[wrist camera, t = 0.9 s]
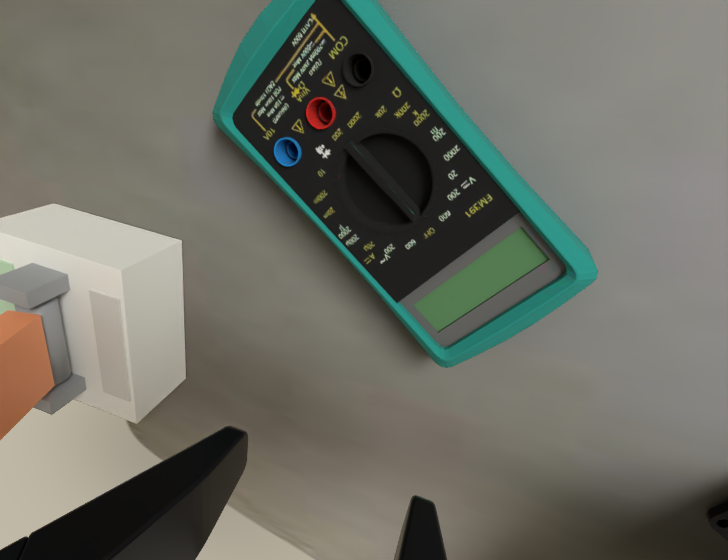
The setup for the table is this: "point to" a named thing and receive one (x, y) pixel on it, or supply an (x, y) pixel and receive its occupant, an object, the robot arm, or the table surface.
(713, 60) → the table surface
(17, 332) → the lever
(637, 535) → the table surface
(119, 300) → the switch base
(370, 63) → the digital multimeter
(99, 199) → the table surface
